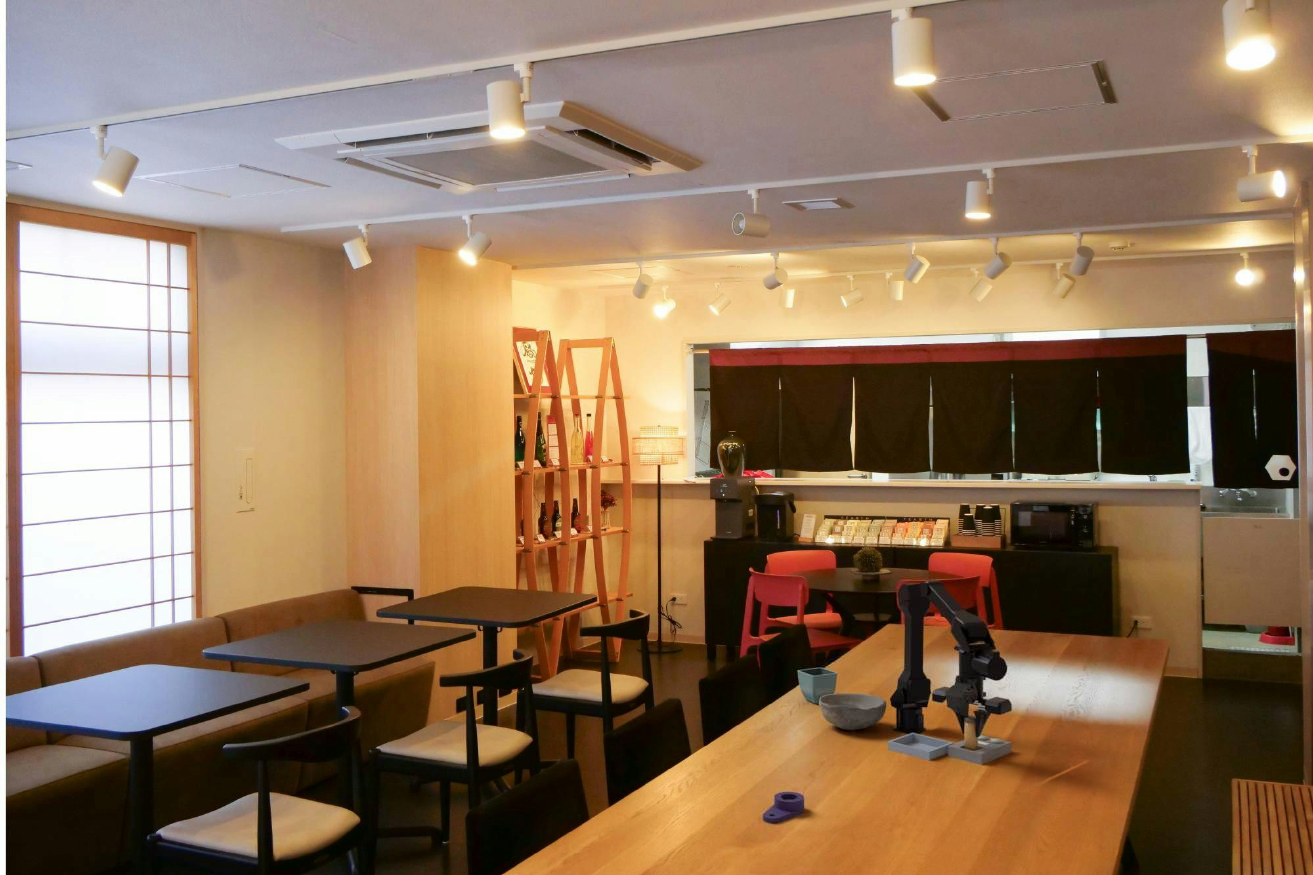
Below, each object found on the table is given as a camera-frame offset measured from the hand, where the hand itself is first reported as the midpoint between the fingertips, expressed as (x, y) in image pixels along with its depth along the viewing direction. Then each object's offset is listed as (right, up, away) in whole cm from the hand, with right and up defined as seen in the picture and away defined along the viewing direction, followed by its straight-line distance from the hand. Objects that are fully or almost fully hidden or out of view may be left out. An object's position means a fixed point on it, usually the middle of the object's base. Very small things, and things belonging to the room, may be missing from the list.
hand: (971, 735), depth 258 cm
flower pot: (-29, -6, +56) cm, 64 cm away
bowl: (-24, -6, +29) cm, 38 cm away
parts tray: (-11, -6, +6) cm, 14 cm away
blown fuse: (0, -4, 0) cm, 4 cm away
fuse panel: (+3, -6, +3) cm, 7 cm away
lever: (-50, -7, -36) cm, 62 cm away
